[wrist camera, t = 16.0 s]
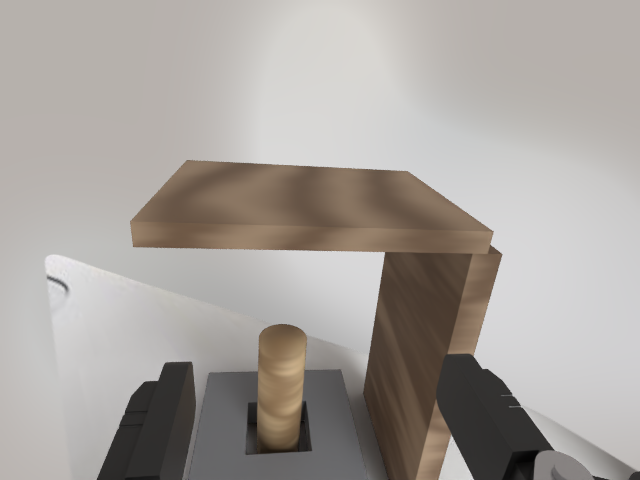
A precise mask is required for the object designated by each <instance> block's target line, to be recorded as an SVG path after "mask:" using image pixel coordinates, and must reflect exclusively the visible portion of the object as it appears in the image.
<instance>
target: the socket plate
mask: <svg viewBox="0 0 640 480" xmlns="http://www.w3.org/2000/svg"><path fill="white" fill-rule="evenodd" d="M257 407H258V372H223V373H209V375H208V381H207V386H206V391H205V396H204V401H203V406H202V411H201V416H200V421H199V427H198V432H197V437H196V442H195V447H194V452H193V457H192V462H191V467H190V473H189V478H188V480H368V477H367V473H366V469H365V465H364V461H363V457H362V453H361V449H360V445H359V441H358V437H357V432H356V428H355V424H354V420H353V416H352V412H351V408H350V404H349V400H348V396H347V392H346V388H345V384H344V380H343V376H342V372H341V370H304V383H303V396H302V408H301V420H305V429H306V439H307V448H308V452H290V453H272V454H254V455H246V449H247V431H248V423H255V422H257Z"/></svg>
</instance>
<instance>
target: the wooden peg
mask: <svg viewBox="0 0 640 480" xmlns="http://www.w3.org/2000/svg"><path fill="white" fill-rule="evenodd" d="M306 344H307V337H306V334H305V333H304V332H303V331H302V330H301V329H299V328H298V327H295V326H292V325H287V324H278V325H273V326H270V327H268V328H266V329H264V330H263V331H262V332H261V334H260V336H259V356H258V407H257V453H258V454H272V453H290V452H298V447H299V434H300V421H301V408H302V396H303V383H304V370H305V357H306Z"/></svg>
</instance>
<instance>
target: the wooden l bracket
mask: <svg viewBox="0 0 640 480" xmlns="http://www.w3.org/2000/svg"><path fill="white" fill-rule="evenodd" d="M130 224H131V233H132V241H133V247H155V248H158V247H159V248H207V249H258V250H261V249H263V250H310V251H311V250H312V251H362V252H385V257H384V264H383V270H382V277H381V284H380V289H379V296H378V303H377V309H376V315H375V321H374V328H373V335H372V341H371V347H370V353H369V360H368V366H367V372H366V379H365V385H364V392H363V394H364V397H365V401H366V404H367V407H368V411H369V414H370V417H371V421H372V424H373V428H374V431H375V434H376V438H377V441H378V444H379V448H380V451H381V454H382V458H383V461H384V464H385V468H386V471H387V474H388V478H389V480H438V478H439V475H440V471H441V468H442V464H443V461H444V457H445V454H446V450H447V447H448V443H449V440H450V436H451V432H450V430H449V428H448V426H447V424H446V422H445V420H444V418H443V416H442V414H441V412H440V410H439V408H438V404H437V399H436V389H437V385H438V380H439V376H440V372H441V368H442V364H443V360H444V357H445V355H447V354H464V353H469V354H471V355H472V356H474V352H475V349H476V345H477V342H478V337H479V335H480V331H481V328H482V324H483V321H484V317H485V313H486V310H487V306H488V303H489V299H490V296H491V292H492V289H493V285H494V282H495V278H496V275H497V271H498V268H499V264H500V261H501V257H502V254H501V253H500V252H499V251H498V250H496V249H495V248H494V247H492V246H491V245H490V243H491V239H492V235H493V231H492V230H490V229H489V228H488V227H486V226H485V225H483V224H482V223H481V222H479V221H477V220H476V219H475V218H473V217H472V216H470V215H469V214H468V213H466V212H465V211H463V210H462V209H460V208H459V207H458V206H456V205H455V204H453V203H452V202H451V201H449V200H448V199H446V198H445V197H444V196H442V195H441V194H439V193H438V192H436V191H435V190H434V189H432V188H431V187H429V186H428V185H426V184H425V183H424V182H422V181H421V180H419V179H418V178H417V177H415V176H414V175H412V174H411V173H409V172H408V171H391V170H372V169H352V168H332V167H312V166H292V165H272V164H253V163H233V162H213V161H193V160H187V161H186V162H185V163H184V164H183V165H182V166H181V167H180V168H179V169H178V170H177V172H176V173H175V174H174V175H173V176H172V177H171V178H170V179H169V180H168V181H167V182H166V183H165V184H164V186H163V187H162V188H161V189H160V190H159V191H158V192H157V193H156V194H155V195H154V197H152V198H151V200H150V201H149V202H148V203H147V204H146V205H145V206H144V207H143V208H142V209H141V210H140V212H139V213H138V214H137V215H136V216H135V217H134V218H133V219H132V220H131V221H130Z"/></svg>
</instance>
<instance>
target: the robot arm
mask: <svg viewBox="0 0 640 480" xmlns="http://www.w3.org/2000/svg"><path fill="white" fill-rule="evenodd" d="M436 399H437V404H438V408H439V410H440V412H441V414H442V416H443V418H444V420H445V422H446V424H447V426H448V428H449V430H450V432H451V434H452V436H453V438H454V440H455V442H456V444H457V446H458V448H459V450H460V452H461V454H462V456H463V458H464V460H465V462H466V464H467V466H468V468H469V470H470V472H471V474H472V476H473V478H474V480H608V479H604V478H600V477H595V476H592V475H591V474H590V472H589V471H588V470H587V469H586V468H585V467H584V466H583V465H582V464H581V463H579V462H578V461H576V460H575V459H573V458H572V457H570V456H568V455H566V454H564V453H561V452H557V451H555V450H554V449H553V448H552V447H551V445H550V444H549V443H548V441H547V440H546V438H545V437H544V436H543V434H542V433H541V432H540V430H539V429H538V428H537V426H536V425H535V424H534V422H533V421H532V420H531V418H530V417H529V416H528V414H527V413H526V412H525V410H524V409H523V408H521V405H520V404H519V402H518V401H517V400H516V398H515V397H513V396H512V393H511V392H510V390H509V389H508V388H507V386H506V385H505V383H504V382H503V381H502V380H501V379H500V378H498V377H497V376H496V375H494V374H493V373H492V372H491V371H489V370H488V369H482V368H481V367H480V365H479V364H478V362H477V361H476V359H475V358H474V357H473V356H472V355H471V354H469V353H464V354H447V355H445V357H444V360H443V364H442V368H441V372H440V376H439V380H438V385H437V389H436ZM195 408H196V399H195V387H194V376H193V365H192V362H166V363H165V364H164V366H163V369H162V372H161V375H160V378H159V380H158V381H147V382H144V383H143V384H142V385H141V386H140V387H139V388H138V389H137V390H136V391H135V393H134V394H133V395H132V396H131V398H130V401H129V403H128V405H127V408H126V410H125V415H123V417H122V420H121V422H120V425H119V429H118V430H117V432H116V434H115V437H114V439H113V442H112V444H111V446H110V449H109V451H108V454H107V456H106V459H105V461H104V463H103V466H102V468H101V471H100V473H99V475H98V478H97V480H182V477H183V472H184V467H185V463H186V458H187V453H188V448H189V443H190V439H191V434H192V429H193V424H194V419H195ZM629 480H640V471H639V472H635V473H633V474H632V475H631V476H630V478H629Z"/></svg>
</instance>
